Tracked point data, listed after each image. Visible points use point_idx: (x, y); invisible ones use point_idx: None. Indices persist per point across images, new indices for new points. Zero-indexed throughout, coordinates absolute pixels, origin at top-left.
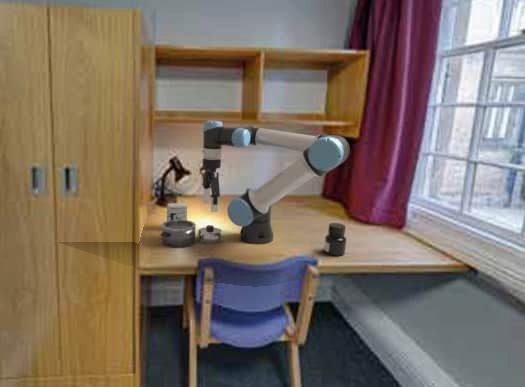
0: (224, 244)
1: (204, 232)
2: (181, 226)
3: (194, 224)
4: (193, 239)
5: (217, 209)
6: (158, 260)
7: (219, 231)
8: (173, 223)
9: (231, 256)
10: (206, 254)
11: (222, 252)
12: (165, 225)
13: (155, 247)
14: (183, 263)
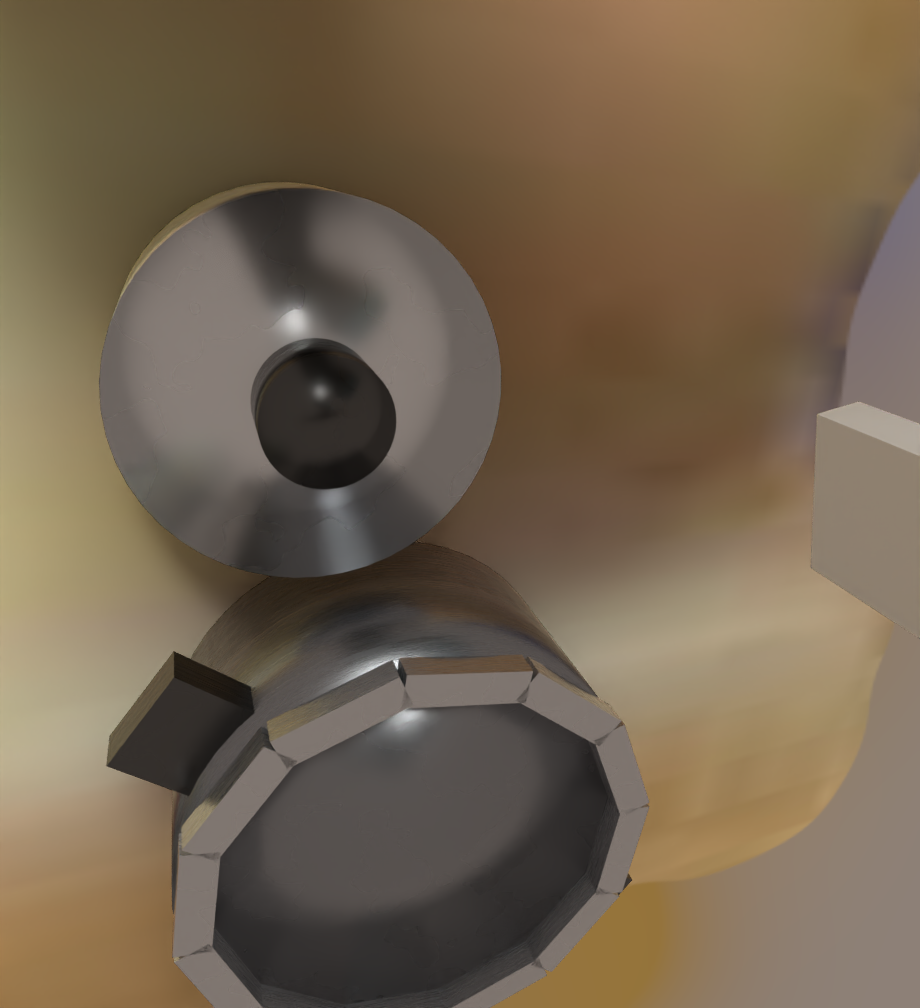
0: (468, 146)
1: (404, 482)
2: (429, 823)
3: (428, 688)
4: (477, 582)
5: (915, 428)
6: (780, 756)
7: (346, 231)
8: (291, 943)
9: (858, 103)
10: (747, 394)
11: (730, 206)
12: (387, 990)
13: None
14: None
